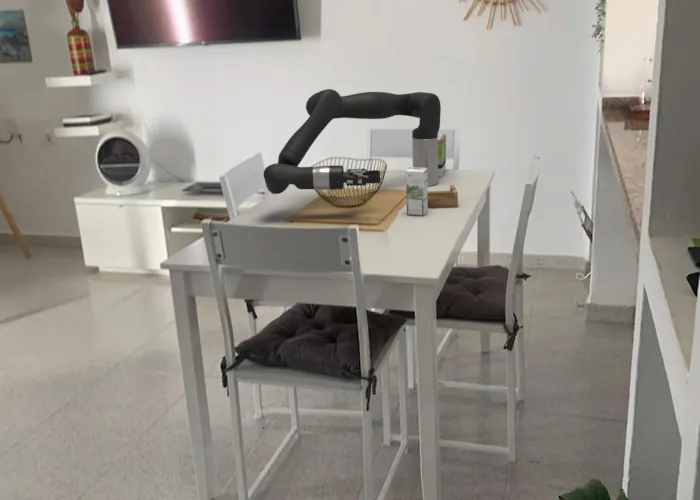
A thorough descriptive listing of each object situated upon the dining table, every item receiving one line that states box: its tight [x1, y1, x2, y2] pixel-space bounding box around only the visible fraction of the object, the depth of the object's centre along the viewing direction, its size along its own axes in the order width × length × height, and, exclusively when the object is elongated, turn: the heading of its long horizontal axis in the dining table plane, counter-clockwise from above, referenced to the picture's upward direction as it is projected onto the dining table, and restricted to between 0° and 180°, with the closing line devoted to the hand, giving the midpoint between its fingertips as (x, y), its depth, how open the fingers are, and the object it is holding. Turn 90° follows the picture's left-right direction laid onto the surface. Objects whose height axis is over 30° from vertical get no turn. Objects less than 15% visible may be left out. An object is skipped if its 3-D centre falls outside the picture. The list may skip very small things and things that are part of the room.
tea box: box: [438, 133, 447, 178], centre depth 291 cm, size 15×10×15 cm, turn 168°
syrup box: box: [405, 166, 429, 217], centre depth 234 cm, size 6×6×14 cm
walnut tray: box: [427, 184, 459, 209], centre depth 247 cm, size 11×11×5 cm
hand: (380, 176), depth 233 cm, fingers open, 8 cm apart
